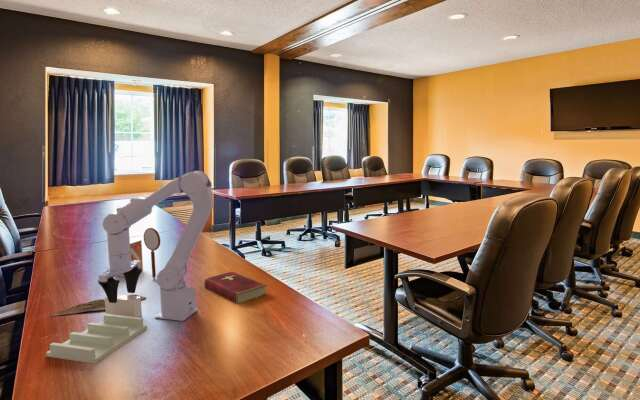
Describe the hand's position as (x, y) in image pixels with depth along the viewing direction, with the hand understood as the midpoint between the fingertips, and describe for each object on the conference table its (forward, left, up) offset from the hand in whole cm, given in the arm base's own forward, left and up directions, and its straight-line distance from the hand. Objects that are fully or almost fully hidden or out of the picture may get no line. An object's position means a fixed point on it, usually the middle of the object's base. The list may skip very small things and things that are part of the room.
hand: (122, 297), depth 114 cm
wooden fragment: (+12, -5, -6) cm, 14 cm away
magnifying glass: (+12, -31, -6) cm, 33 cm away
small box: (+26, -35, -6) cm, 44 cm away
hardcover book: (-23, -26, -7) cm, 36 cm away
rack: (-5, +14, -6) cm, 16 cm away
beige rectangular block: (0, 0, -6) cm, 6 cm away
